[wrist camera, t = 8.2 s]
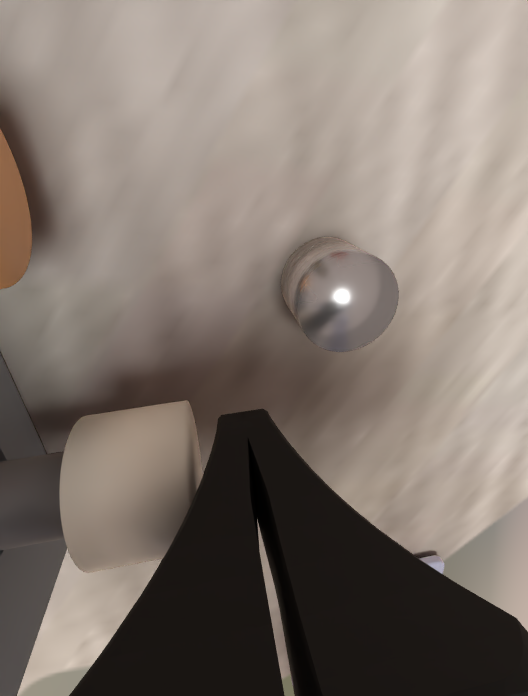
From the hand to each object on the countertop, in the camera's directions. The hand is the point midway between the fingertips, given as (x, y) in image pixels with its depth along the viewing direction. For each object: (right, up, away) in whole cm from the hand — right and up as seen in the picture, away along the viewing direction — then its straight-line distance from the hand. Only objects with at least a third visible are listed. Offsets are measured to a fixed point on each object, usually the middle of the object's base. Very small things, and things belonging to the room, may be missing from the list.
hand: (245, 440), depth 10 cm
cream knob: (-6, 0, 0) cm, 6 cm away
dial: (+2, +5, +1) cm, 5 cm away
